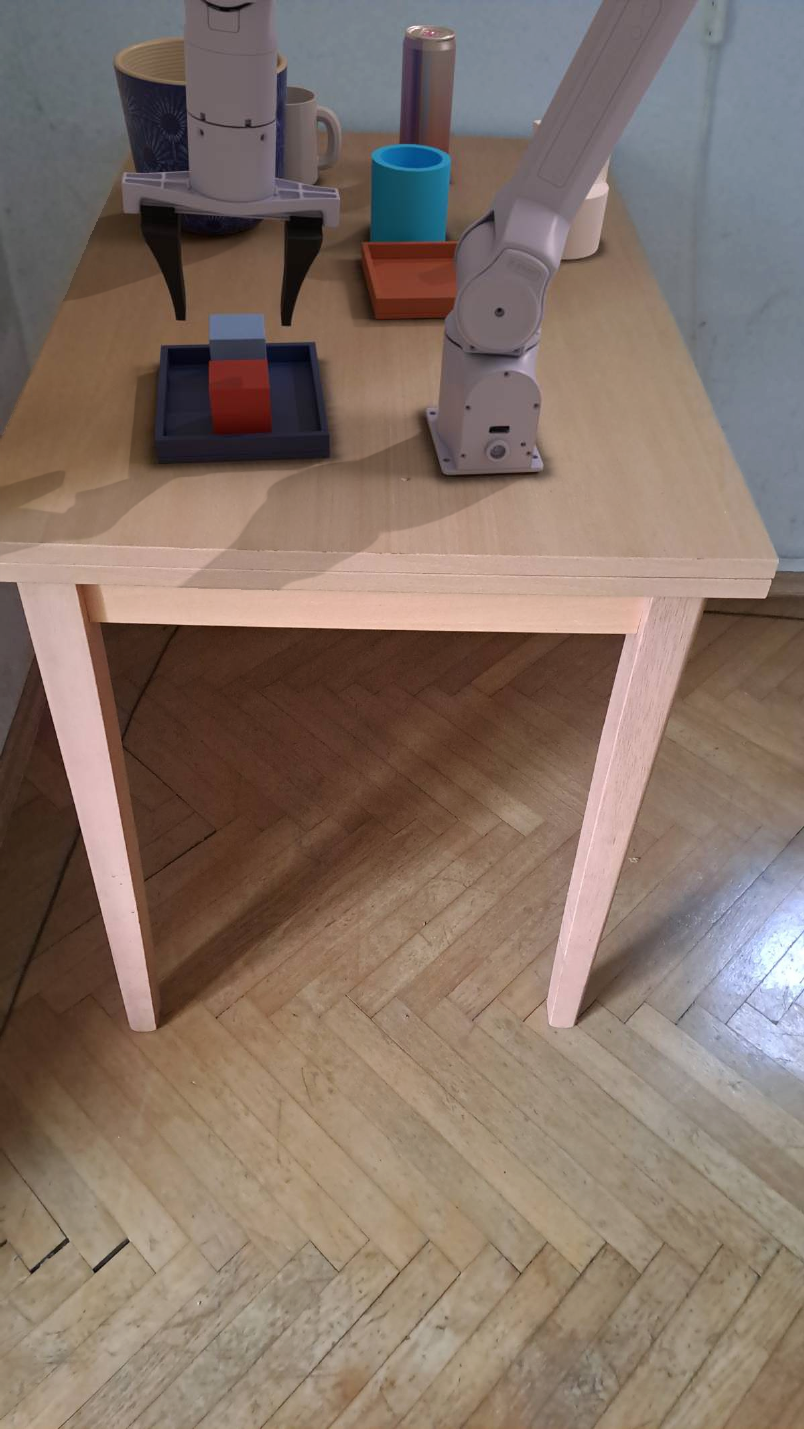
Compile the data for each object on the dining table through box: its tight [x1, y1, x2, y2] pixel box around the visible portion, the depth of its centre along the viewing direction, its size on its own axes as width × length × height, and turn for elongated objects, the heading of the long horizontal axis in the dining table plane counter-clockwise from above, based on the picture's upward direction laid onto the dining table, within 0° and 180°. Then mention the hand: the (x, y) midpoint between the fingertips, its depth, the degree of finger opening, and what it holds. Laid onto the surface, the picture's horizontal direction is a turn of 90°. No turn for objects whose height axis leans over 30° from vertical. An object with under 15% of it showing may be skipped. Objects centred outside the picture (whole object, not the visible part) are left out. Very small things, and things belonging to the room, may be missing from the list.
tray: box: [360, 240, 459, 320], centre depth 98 cm, size 13×12×2 cm
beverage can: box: [398, 24, 457, 156], centre depth 115 cm, size 6×6×15 cm
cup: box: [284, 85, 343, 186], centre depth 115 cm, size 7×10×9 cm
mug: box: [369, 143, 452, 242], centre depth 106 cm, size 12×8×8 cm
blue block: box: [208, 313, 267, 361], centre depth 83 cm, size 4×4×4 cm
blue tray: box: [153, 341, 331, 464], centre depth 81 cm, size 15×13×2 cm
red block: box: [209, 359, 272, 435], centre depth 77 cm, size 4×4×4 cm
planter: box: [112, 36, 288, 236], centre depth 103 cm, size 17×17×15 cm
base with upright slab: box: [531, 119, 612, 260], centre depth 104 cm, size 9×9×12 cm
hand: (233, 317), depth 74 cm, fingers open, 7 cm apart
